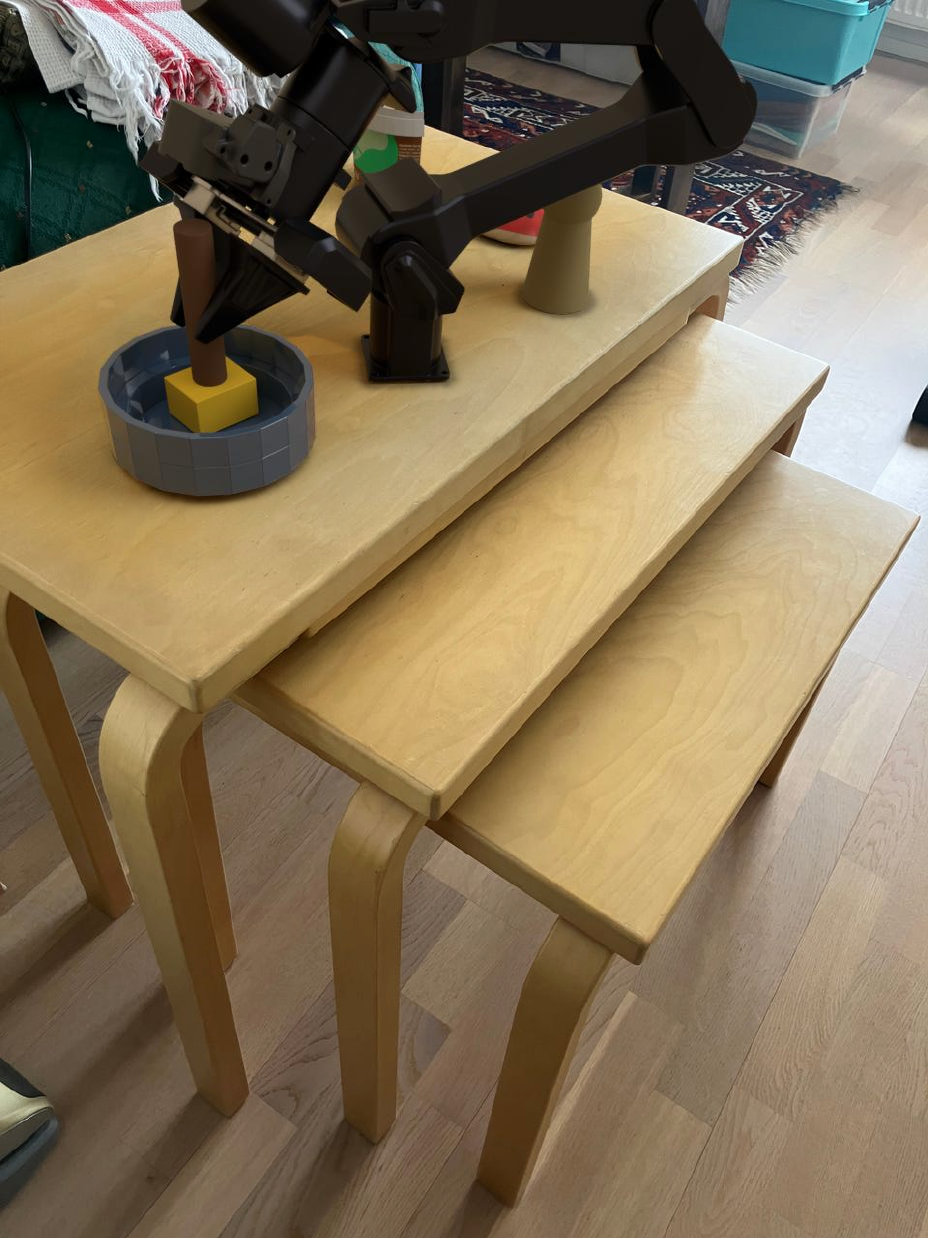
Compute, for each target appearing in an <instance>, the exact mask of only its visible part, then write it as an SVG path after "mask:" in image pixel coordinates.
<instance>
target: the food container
mask: <svg viewBox="0 0 928 1238" xmlns="http://www.w3.org/2000/svg"><path fill="white" fill-rule="evenodd" d="M424 137H425V112H424V111H419V110H416V111H415V112H414V113H412V114H411V113H407V112H404V111H401V110H397V109H394V108H391V107H387V106H385V105H384V104H383V103H382V105H381V107H380V108H379V110H378V111H377V113H376V115H375V116H374V118H373V120H372V121H371V123H370V124H369V126H368V128H367V129H366V131H365V132H364V134H363V136H362V137H361V139H360V140H359V142H358V144H357V145H356V147H355V148H354V150H353V152H352V159H353V160H352V161H353V176H354V187H355V186H357V185H358V184H361V183H364V181H363V179H362V178H361V174H362V173H374V172H378V171H382V170H384V169H386V168H388V167H389V166H391V165H393V164H394V163H396V162H397V161H399V160H401V159H403V158H407V157H410V156H413V157H414V158H415V159H416V160H417V162H418V163H419V164H420V165H421V159H422V158H421V156H422V144H423V143H422V142H423V138H424Z"/></svg>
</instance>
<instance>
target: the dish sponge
mask: <svg viewBox="0 0 928 1238" xmlns="http://www.w3.org/2000/svg"><path fill="white" fill-rule="evenodd" d="M172 232H173V241H174V248H175V255H176V262H177V263H176V264H177V269H178V271H177V272H178V278H179V279H180V286H181V294H182V301H183V309H184V317H185V324H186V332H187V339H188V347H189V354H190V362H191V367H190V368H187V369H184V370H182V371H179V372H177V373H174V374H172V375H169V376H166V377H164V380H165V386H166V393H167V399H168V406H169V412H170V413H171V414H172V415H173V416H174V417H176V418H177V419H178V420H179V421H180V422H182V423H183V424H184V425H185V426H186V427H188V428H189V429H190V430H191V431H193V432H194V433H214V432H217V431H219V430H222V429H224V428H226V427H228V426H231V425H233V424H235V423H238V422H240V421H242V420H245V419H247V418H249V417H252V416H254V415H256V414H258V413H259V411H258V398H257V386H256V378H254V377H253V376H252V375H250V374H249V373H248V372H246V371H245V370H244V369H242V368H241V367H240V366H238V365H237V364H236V363H234V362H233V361H232V360H230V359H229V358H228V357H226V356H225V347H224V337H223V335H222V336H220V337H219V338H217V339H215V340H214V341H212V342H210V343H209V344H207V345H204V344H202V343H201V342H199V341H197V340H196V339H195V338H194V332H195V330H196V328H197V325H198V323H199V321H200V318H201V316H202V314H203V312H204V310H205V309H206V307H207V305H208V303H209V301H210V299H211V298H212V296H213V294H214V292H215V290H216V288H217V287H218V280H217V270H216V260H215V251H214V241H213V231H212V226H211V224H210V223H209V222H207V221H205V220H202V219H195V218H190V219H183V220H182V219H180V220H178V221H176V222H175V223H174V224H173V226H172Z"/></svg>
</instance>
